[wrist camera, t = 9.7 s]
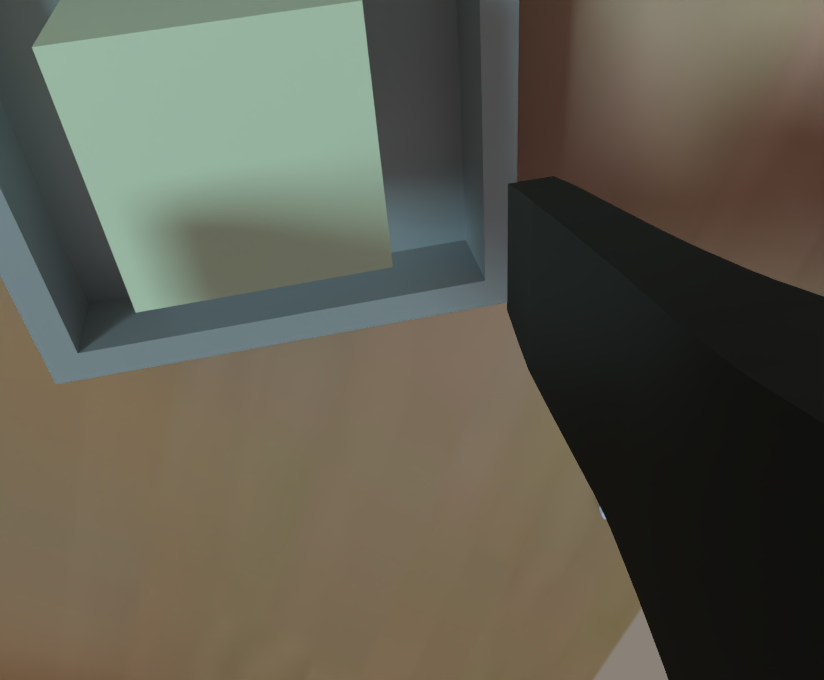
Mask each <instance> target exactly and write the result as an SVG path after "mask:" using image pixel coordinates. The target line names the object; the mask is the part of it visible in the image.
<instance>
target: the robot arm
mask: <svg viewBox="0 0 824 680" xmlns="http://www.w3.org/2000/svg"><path fill="white" fill-rule="evenodd" d="M507 311H508V314H509V317H510V319H511V322H512V325H513V328H514V331H515V334H516V337H517V340H518V343H519V345H520V348H521V351H522V353H523V356H524V359H525V361H526V364H527V367H528V369H529V371H530V373H531V375H532V377H533V379H534V381H535V383H536V385H537V387H538V389H539V391H540V393H541V395H542V397H543V399H544V401H545V402H546V404H547V406H548V408H549V410H550V412H551V414H552V416H553V418H554V420H555V421H556V423H557V425H558V427H559V429H560V431H561V433H562V435H563V436H564V438H565V440H566V442H567V444H568V446H569V448H570V450H571V452H572V453H573V455H574V457H575V459H576V461H577V463H578V465H579V467H580V468H581V470H582V472H583V474H584V476H585V478H586V480H587V482H588V484H589V485H590V487H591V489H592V491H593V493H594V495H595V497H596V499H597V501H598V503H599V505H600V508H599V509H600V513H601V515H602V517H603V518H604V519H605V520H607V522H608V524H609V526H610V528H611V531H612V533H613V536H614V538H615V541H616V543H617V546H618V548H619V551H620V553H621V556H622V558H623V561H624V563H625V566H626V568H627V571H628V573H629V576H630V578H631V581H632V583H633V586H634V589H635V591H636V594H637V596H638V599H639V601H640V604H641V607H642V609H643V612H644V615H645V617H646V620H647V623H648V625H649V628H650V631H651V633H652V636H653V639H654V641H655V644H656V647H657V649H658V652H659V655H660V657H661V660H662V663H663V665H664V668H665V671H666V674H667V677H668V680H824V297H823V296H820V295H817V294H814V293H812V292H809V291H806V290H803V289H800V288H797V287H794V286H791V285H788V284H785V283H783V282H780V281H777V280H774V279H772V278H769V277H766V276H764V275H761V274H759V273H756V272H753V271H751V270H749V269H746V268H744V267H741V266H739V265H737V264H735V263H732V262H730V261H728V260H725V259H723V258H721V257H718V256H716V255H714V254H711V253H709V252H707V251H704V250H702V249H700V248H698V247H696V246H694V245H691V244H689V243H687V242H685V241H683V240H681V239H679V238H677V237H675V236H673V235H670V234H668V233H666V232H664V231H662V230H660V229H658V228H656V227H654V226H652V225H650V224H648V223H646V222H644V221H642V220H641V219H639V218H637V217H635V216H633V215H631V214H629V213H627V212H625V211H623V210H621V209H619V208H617V207H615V206H614V205H612V204H610V203H608V202H606V201H604V200H602V199H600V198H598V197H596V196H594V195H592V194H591V193H589V192H587V191H585V190H583V189H581V188H579V187H577V186H575V185H573V184H570V183H568V182H566V181H564V180H561V179H559V178H556V177H554V176H552V177H546V178H540V179H534V180H528V181H522V182H516V183H509V184H508V265H507Z"/></svg>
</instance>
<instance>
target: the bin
mask: <svg viewBox="0 0 824 680" xmlns="http://www.w3.org/2000/svg"><path fill="white" fill-rule="evenodd" d="M59 1H60V0H0V276H1V278H2V280H3V282H4V284H5V286H6V288H7V290H8V292H9V294H10V296H11V298H12V299H13V301H14V303H15V305H16V307H17V309H18V311H19V313H20V315H21V317H22V319H23V321H24V323H25V325H26V327H27V329H28V331H29V333H30V335H31V337H32V339H33V341H34V343H35V345H36V347H37V348H38V350H39V352H40V354H41V356H42V358H43V360H44V362H45V364H46V366H47V368H48V370H49V372H50V374H51V376H52V378H53V380H54V382H55V384H61V383H67V382H72V381H78V380H83V379H89V378H94V377H99V376H105V375H110V374H116V373H121V372H127V371H132V370H138V369H143V368H149V367H154V366H160V365H165V364H171V363H176V362H182V361H187V360H193V359H198V358H204V357H209V356H215V355H220V354H226V353H231V352H237V351H242V350H248V349H253V348H259V347H264V346H270V345H275V344H281V343H286V342H292V341H297V340H303V339H308V338H314V337H319V336H325V335H330V334H335V333H341V332H346V331H352V330H357V329H363V328H368V327H374V326H379V325H385V324H390V323H396V322H401V321H407V320H412V319H418V318H423V317H429V316H434V315H440V314H445V313H451V312H456V311H462V310H467V309H473V308H478V307H484V306H489V305H495V304H500V303H506V302H507V265H508V184H509V183H516V182H517V154H518V63H519V0H362V4H363V12H364V21H365V29H366V38H367V47H368V55H369V64H370V73H371V81H372V90H373V99H374V107H375V116H376V124H377V133H378V142H379V150H380V159H381V168H382V176H383V185H384V193H385V202H386V211H387V219H388V228H389V237H390V245H391V254H392V263H393V267H391V268H385V269H380V270H374V271H368V272H363V273H357V274H351V275H346V276H340V277H335V278H329V279H323V280H318V281H312V282H306V283H301V284H295V285H289V286H284V287H278V288H272V289H267V290H261V291H256V292H250V293H244V294H239V295H233V296H227V297H222V298H216V299H210V300H205V301H199V302H193V303H188V304H182V305H176V306H171V307H165V308H160V309H154V310H148V311H143V312H137V313H136V312H135V309H134V307H133V304H132V302H131V299H130V297H129V294H128V292H127V289H126V286H125V284H124V281H123V279H122V276H121V274H120V271H119V269H118V266H117V263H116V261H115V258H114V256H113V253H112V251H111V248H110V246H109V243H108V241H107V238H106V235H105V233H104V230H103V228H102V225H101V223H100V220H99V218H98V215H97V212H96V210H95V207H94V205H93V202H92V200H91V197H90V195H89V192H88V189H87V187H86V184H85V182H84V179H83V177H82V174H81V172H80V169H79V166H78V164H77V161H76V159H75V156H74V154H73V151H72V149H71V146H70V144H69V141H68V138H67V136H66V133H65V131H64V128H63V126H62V123H61V121H60V118H59V115H58V113H57V110H56V108H55V105H54V103H53V100H52V98H51V95H50V92H49V90H48V87H47V85H46V82H45V80H44V77H43V75H42V72H41V69H40V67H39V64H38V62H37V59H36V57H35V54H34V52H33V49H32V46H33V44H34V43H35V41H36V39H37V38H38V36H39V34H40V33H41V31H42V29H43V28H44V26H45V24H46V23H47V21H48V19H49V18H50V16H51V14H52V12H53V11H54V9H55V7H56V6H57V4H58V2H59Z"/></svg>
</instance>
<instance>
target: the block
mask: <svg viewBox="0 0 824 680" xmlns="http://www.w3.org/2000/svg"><path fill="white" fill-rule="evenodd" d="M32 49H33V52H34V54H35V57H36V59H37V62H38V64H39V67H40V69H41V72H42V75H43V77H44V80H45V82H46V85H47V87H48V90H49V92H50V95H51V98H52V100H53V103H54V105H55V108H56V110H57V113H58V115H59V118H60V121H61V123H62V126H63V128H64V131H65V133H66V136H67V138H68V141H69V144H70V146H71V149H72V151H73V154H74V156H75V159H76V161H77V164H78V166H79V169H80V172H81V174H82V177H83V179H84V182H85V184H86V187H87V189H88V192H89V195H90V197H91V200H92V202H93V205H94V207H95V210H96V212H97V215H98V218H99V220H100V223H101V225H102V228H103V230H104V233H105V235H106V238H107V241H108V243H109V246H110V248H111V251H112V253H113V256H114V258H115V261H116V263H117V266H118V269H119V271H120V274H121V276H122V279H123V281H124V284H125V286H126V289H127V292H128V294H129V297H130V299H131V302H132V304H133V307H134V309H135V312H136V313H137V312H143V311H148V310H154V309H160V308H165V307H171V306H176V305H182V304H188V303H193V302H199V301H205V300H210V299H216V298H222V297H227V296H233V295H239V294H244V293H250V292H256V291H261V290H267V289H272V288H278V287H284V286H289V285H295V284H301V283H306V282H312V281H318V280H323V279H329V278H335V277H340V276H346V275H351V274H357V273H363V272H368V271H374V270H380V269H385V268H391V267H393V263H392V254H391V245H390V237H389V228H388V219H387V211H386V202H385V193H384V185H383V176H382V168H381V159H380V150H379V142H378V133H377V124H376V116H375V107H374V99H373V90H372V81H371V73H370V64H369V55H368V47H367V38H366V29H365V21H364V12H363V4H362V0H60V1H59V2H58V4H57V6H56V7H55V9H54V11H53V12H52V14H51V16H50V18H49V19H48V21H47V23H46V24H45V26H44V28H43V29H42V31H41V33H40V34H39V36H38V38H37V39H36V41H35V43H34V44H33V46H32Z"/></svg>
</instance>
